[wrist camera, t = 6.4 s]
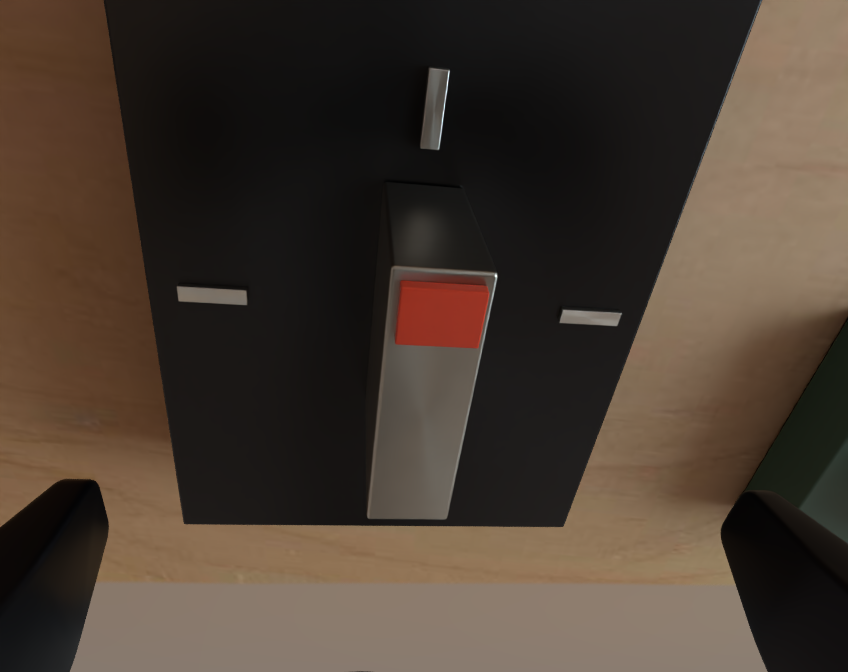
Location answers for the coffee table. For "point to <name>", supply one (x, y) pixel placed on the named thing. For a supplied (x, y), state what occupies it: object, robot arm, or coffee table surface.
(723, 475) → the coffee table surface
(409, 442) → the stove knob
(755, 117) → the coffee table surface
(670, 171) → the panel
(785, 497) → the block
